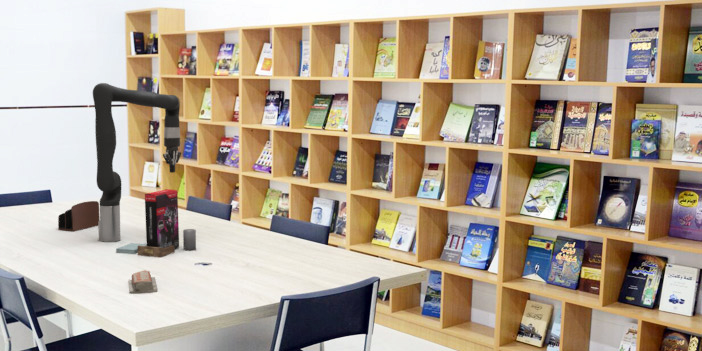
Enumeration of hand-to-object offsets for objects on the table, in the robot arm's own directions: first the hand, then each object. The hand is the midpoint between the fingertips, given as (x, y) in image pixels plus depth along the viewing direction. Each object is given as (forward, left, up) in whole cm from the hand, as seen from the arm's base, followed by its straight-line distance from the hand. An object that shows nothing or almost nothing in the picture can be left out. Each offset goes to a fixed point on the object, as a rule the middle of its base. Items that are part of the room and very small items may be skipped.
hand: (172, 172), depth 368 cm
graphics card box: (+9, -23, -33) cm, 42 cm away
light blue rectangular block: (-3, -28, -34) cm, 44 cm away
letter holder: (-60, +6, -33) cm, 69 cm away
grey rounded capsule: (+19, -16, -33) cm, 41 cm away
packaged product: (+37, -79, -34) cm, 93 cm away
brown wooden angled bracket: (+10, -29, -33) cm, 45 cm away
